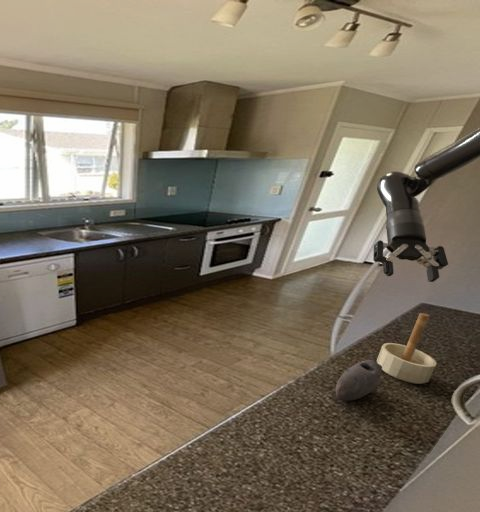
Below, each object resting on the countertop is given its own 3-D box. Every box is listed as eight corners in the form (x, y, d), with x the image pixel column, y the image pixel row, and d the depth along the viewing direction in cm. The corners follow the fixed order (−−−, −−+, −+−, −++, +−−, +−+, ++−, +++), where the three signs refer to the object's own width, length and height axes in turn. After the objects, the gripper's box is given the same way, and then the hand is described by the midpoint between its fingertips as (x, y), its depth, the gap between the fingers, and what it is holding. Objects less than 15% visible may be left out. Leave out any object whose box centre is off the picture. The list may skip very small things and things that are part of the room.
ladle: (405, 367, 75) (427, 313, 70) (407, 372, 73) (430, 317, 69) (384, 361, 77) (405, 308, 72) (386, 366, 76) (407, 312, 71)
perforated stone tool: (347, 411, 62) (356, 386, 60) (321, 394, 67) (329, 370, 65) (383, 391, 68) (392, 367, 66) (356, 377, 73) (365, 354, 71)
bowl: (421, 369, 76) (429, 351, 74) (433, 391, 69) (442, 372, 67) (373, 355, 81) (379, 338, 80) (379, 374, 74) (386, 356, 72)
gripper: (379, 218, 83) (383, 267, 77) (448, 223, 77) (458, 276, 71) (367, 232, 89) (370, 279, 83) (430, 238, 84) (438, 288, 77)
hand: (410, 277), depth 77 cm, fingers open, 8 cm apart
